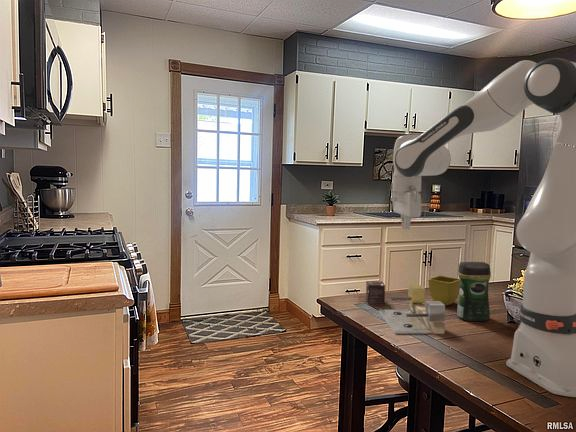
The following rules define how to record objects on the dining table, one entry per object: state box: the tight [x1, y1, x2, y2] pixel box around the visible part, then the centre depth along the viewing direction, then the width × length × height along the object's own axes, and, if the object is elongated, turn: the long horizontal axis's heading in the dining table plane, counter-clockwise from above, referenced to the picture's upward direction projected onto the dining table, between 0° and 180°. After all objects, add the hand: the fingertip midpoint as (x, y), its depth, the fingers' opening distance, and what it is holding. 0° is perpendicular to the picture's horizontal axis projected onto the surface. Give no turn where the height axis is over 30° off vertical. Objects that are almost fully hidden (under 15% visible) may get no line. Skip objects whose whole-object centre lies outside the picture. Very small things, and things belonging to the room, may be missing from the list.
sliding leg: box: [391, 285, 426, 304], centre depth 148 cm, size 4×11×5 cm, turn 91°
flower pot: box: [427, 275, 460, 306], centre depth 157 cm, size 9×9×9 cm
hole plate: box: [379, 309, 430, 335], centre depth 136 cm, size 20×10×1 cm, turn 1°
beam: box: [406, 300, 446, 335], centre depth 138 cm, size 24×11×8 cm, turn 1°
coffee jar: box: [456, 261, 492, 322], centre depth 140 cm, size 10×8×19 cm
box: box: [365, 280, 386, 306], centre depth 158 cm, size 6×6×7 cm
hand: (405, 228), depth 140 cm, fingers closed
